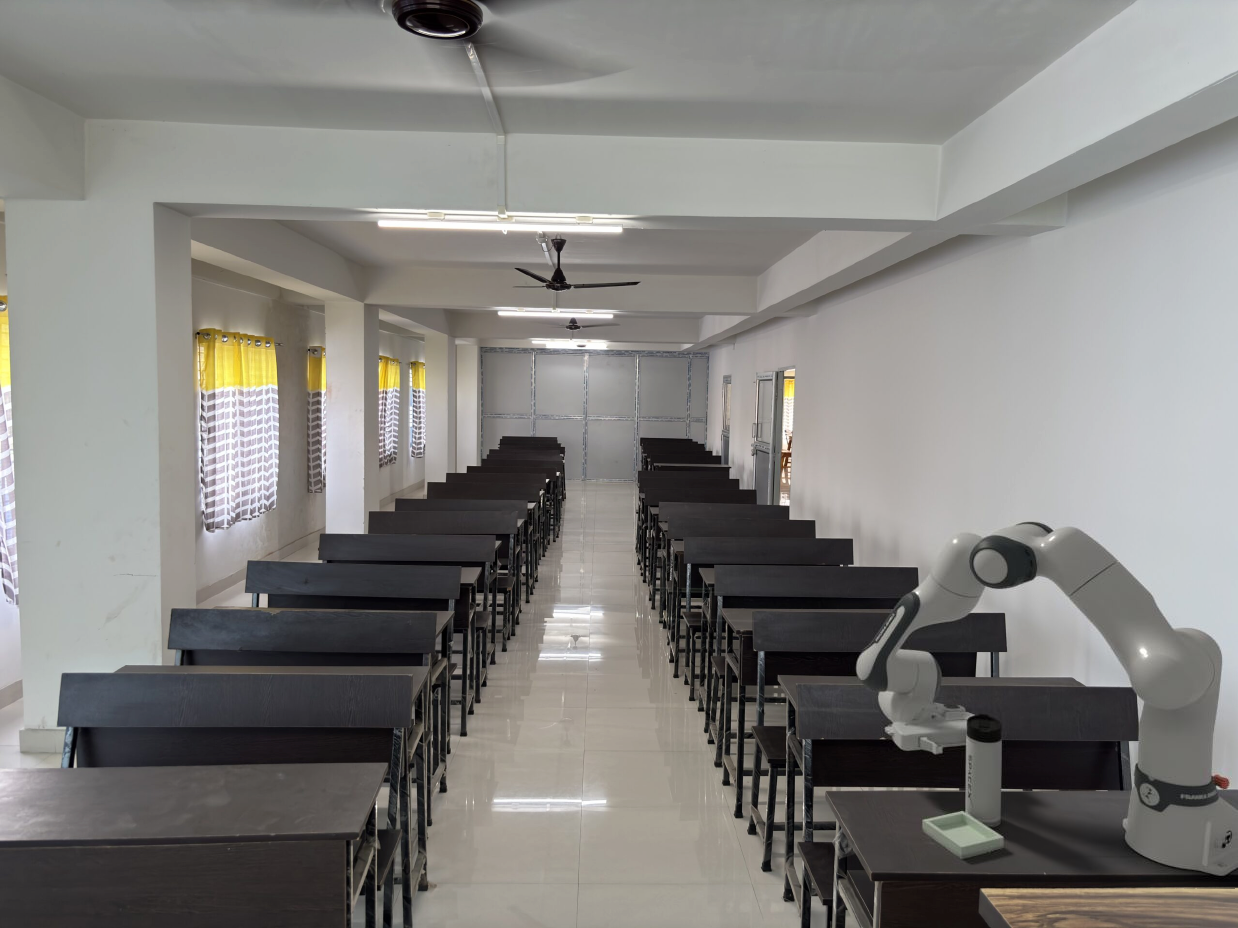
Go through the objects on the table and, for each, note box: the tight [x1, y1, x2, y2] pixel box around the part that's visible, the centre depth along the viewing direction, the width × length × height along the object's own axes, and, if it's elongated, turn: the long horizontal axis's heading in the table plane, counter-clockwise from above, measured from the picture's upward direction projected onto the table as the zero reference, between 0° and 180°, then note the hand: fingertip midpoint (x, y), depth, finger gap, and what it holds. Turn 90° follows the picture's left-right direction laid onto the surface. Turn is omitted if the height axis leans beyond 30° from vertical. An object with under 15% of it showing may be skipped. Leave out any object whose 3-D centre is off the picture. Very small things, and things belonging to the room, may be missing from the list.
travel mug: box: [964, 712, 1003, 828], centre depth 163 cm, size 6×7×20 cm
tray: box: [921, 810, 1005, 860], centre depth 157 cm, size 9×10×2 cm
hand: (960, 748), depth 171 cm, fingers open, 8 cm apart
